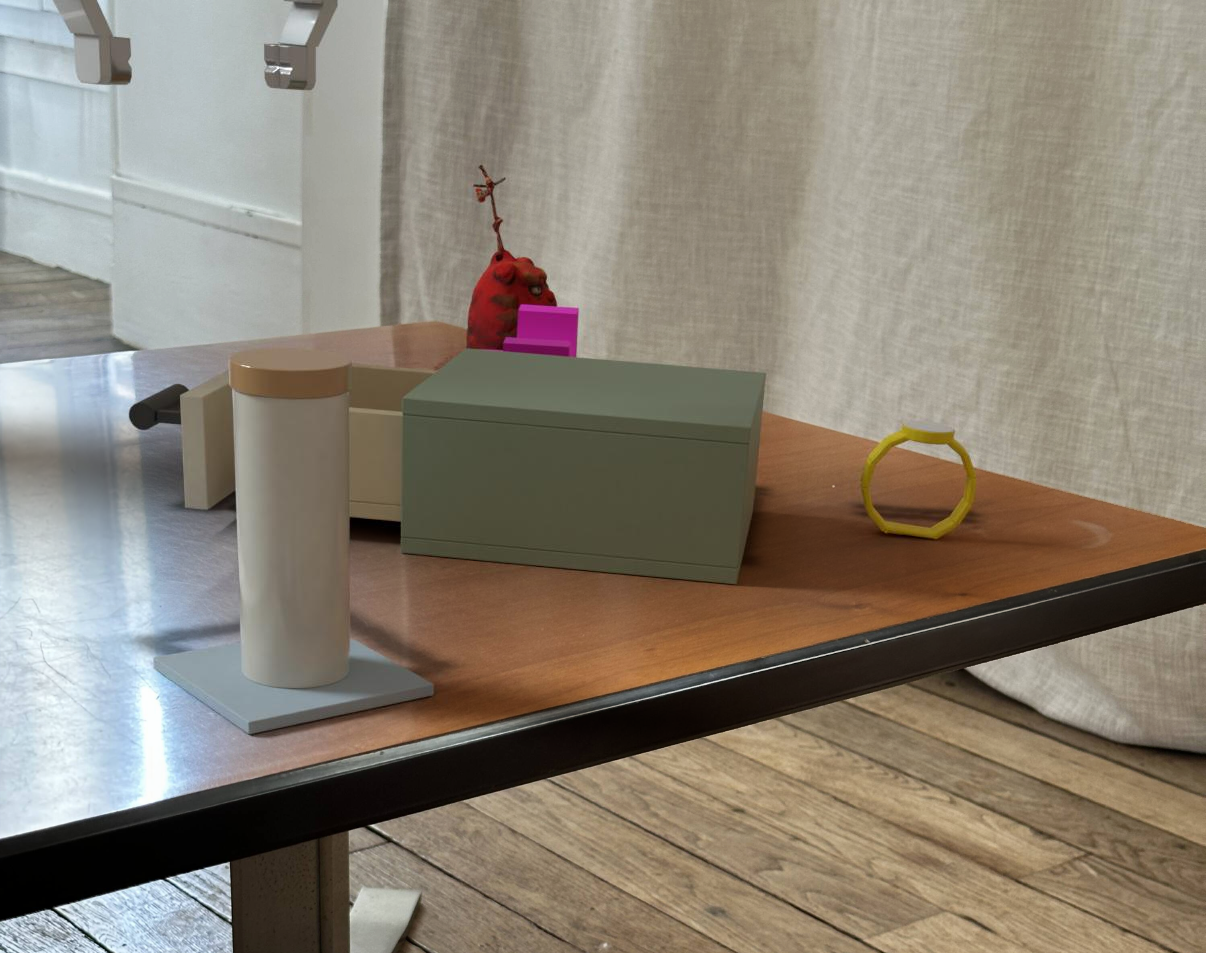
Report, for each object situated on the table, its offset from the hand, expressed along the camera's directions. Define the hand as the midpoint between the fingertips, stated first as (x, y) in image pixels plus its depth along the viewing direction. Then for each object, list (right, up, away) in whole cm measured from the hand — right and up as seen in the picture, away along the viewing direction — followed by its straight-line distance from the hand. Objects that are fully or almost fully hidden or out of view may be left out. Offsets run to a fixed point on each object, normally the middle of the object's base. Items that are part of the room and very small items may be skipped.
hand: (201, 86), depth 72 cm
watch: (+34, -16, +21) cm, 43 cm away
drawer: (+2, -13, +19) cm, 23 cm away
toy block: (+12, -8, +35) cm, 38 cm away
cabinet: (+16, -16, +18) cm, 29 cm away
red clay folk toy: (+10, 0, +53) cm, 54 cm away
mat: (+5, -25, -5) cm, 26 cm away
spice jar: (+5, -25, -5) cm, 26 cm away
